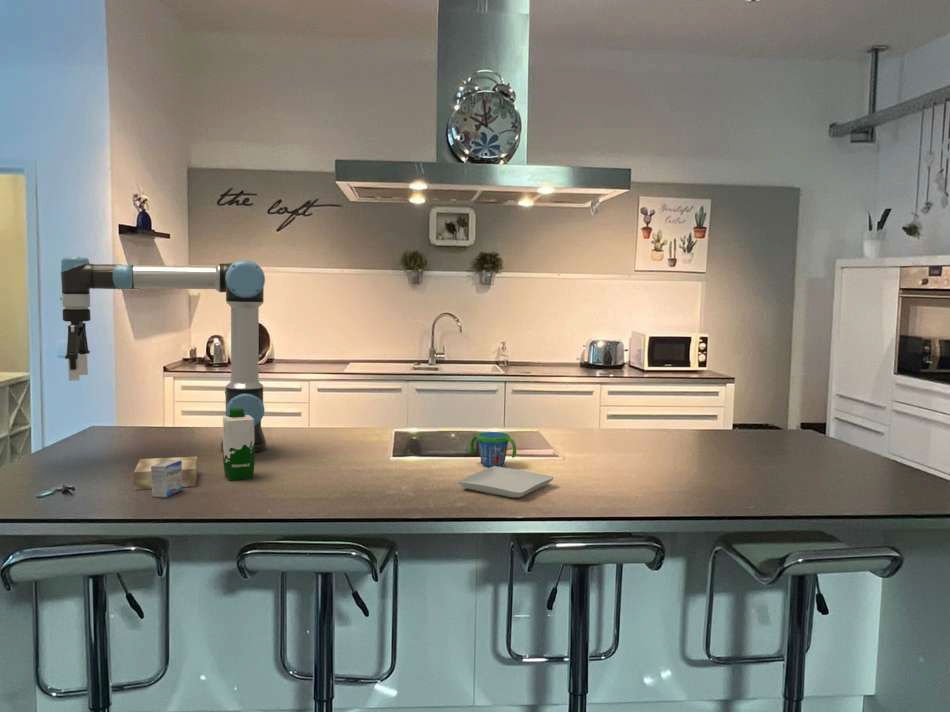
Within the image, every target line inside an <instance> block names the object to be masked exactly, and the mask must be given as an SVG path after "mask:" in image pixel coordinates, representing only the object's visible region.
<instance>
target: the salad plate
mask: <svg viewBox="0 0 950 712" xmlns="http://www.w3.org/2000/svg"><path fill="white" fill-rule="evenodd" d="M553 480H554V476H552V475H551V476H550V475H547V474H541V473H537V472H531V471H525V470H522V469H521V470H520V469H515V468H507V467H503V466H501V467H497V466H493V467H487V468H486V469H483V470H480V471H478V472H476V473H473V474H470V475H468V476H466V477H463V478H461V479H459V480H457V483H458V484H459V485H460V486H462V487H463V488H465V489H468V490H472V491H474V490H475V492H479V491H480V493H484V492H485V494H489V493H490V495H495V494H496V495H495V496H500V495H501V496H500V497H505V496H506V498H511V497H512V499H513V498H517V499H518V498H522V497H524V496H526V495H528V494H530V493H532V492H534V491H536V490H538V489H541V488H543V487H545V486H546V485H548V484H550V483H551V482H552V481H553Z"/></svg>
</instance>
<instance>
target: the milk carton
mask: <svg viewBox="0 0 950 712" xmlns="http://www.w3.org/2000/svg"><path fill="white" fill-rule="evenodd" d="M222 439H223V452H222V464H223V471H224V476H225V477H226V478H227V480H228V481H238V480H240V481H241V480H249V479H254V473H255V472H254V471H255V455H256V452H255V445H254V419H253V418H252V417H251V416H249V415H244V409H231V410H230V416H226V415H223V416H222Z"/></svg>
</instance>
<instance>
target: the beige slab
mask: <svg viewBox="0 0 950 712" xmlns="http://www.w3.org/2000/svg"><path fill="white" fill-rule="evenodd" d="M166 460H181V461H182V488H185V487H186V488H188V486H191V487H196V484H197V478H198V456H178V457H158V458H157V457H156V458H140V459H139V460H138V463H137V465H136V467H135V468H134V471H133V489H134V490H135V491H136V490H149V489H151V490H152V480H151V466H153V465H156V464H158V463H161V462H164V461H166Z"/></svg>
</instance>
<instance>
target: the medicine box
mask: <svg viewBox="0 0 950 712" xmlns="http://www.w3.org/2000/svg"><path fill="white" fill-rule="evenodd" d="M151 480H152V489H151V497H154V498H165V497H167V498H169V497H171V496H173V495H175V494H176V493H179V492H181V491H183V487H182V461H181V460H166V461H164V462H161V463H158V464H156V465H153V466H151ZM172 494H173V495H172ZM170 495H171V496H170ZM168 496H169V497H168Z"/></svg>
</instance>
